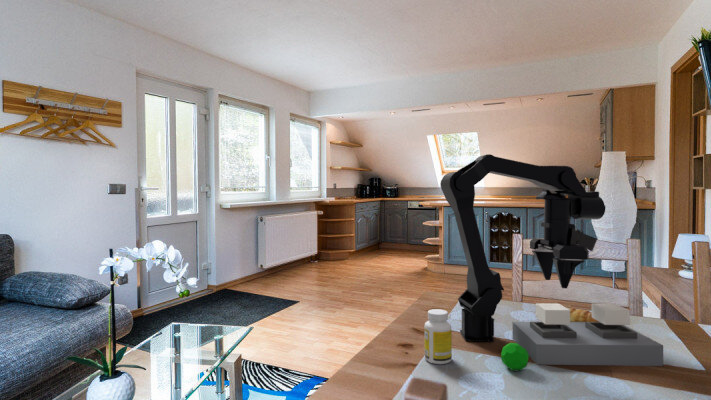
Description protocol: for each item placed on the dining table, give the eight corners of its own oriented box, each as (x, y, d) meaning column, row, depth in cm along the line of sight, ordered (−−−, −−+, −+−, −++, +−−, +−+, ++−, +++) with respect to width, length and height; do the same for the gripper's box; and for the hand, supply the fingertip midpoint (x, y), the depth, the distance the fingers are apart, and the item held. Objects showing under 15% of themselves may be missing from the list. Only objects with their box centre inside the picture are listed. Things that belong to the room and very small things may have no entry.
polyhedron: (502, 373, 75) (502, 348, 75) (499, 362, 80) (499, 338, 80) (531, 375, 74) (531, 350, 74) (526, 364, 79) (526, 340, 79)
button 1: (545, 324, 83) (545, 310, 83) (535, 317, 88) (535, 303, 88) (570, 324, 83) (569, 310, 83) (558, 317, 88) (558, 303, 88)
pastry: (612, 326, 101) (612, 311, 101) (605, 333, 96) (605, 318, 96) (572, 318, 108) (571, 304, 108) (563, 325, 103) (563, 310, 103)
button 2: (604, 324, 82) (604, 310, 82) (591, 317, 87) (591, 303, 87) (629, 324, 82) (629, 310, 82) (615, 317, 87) (615, 303, 87)
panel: (537, 364, 79) (536, 338, 79) (512, 338, 93) (512, 316, 93) (663, 365, 78) (663, 339, 78) (619, 339, 92) (619, 317, 91)
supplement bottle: (456, 359, 82) (456, 311, 82) (442, 367, 78) (441, 317, 78) (434, 352, 85) (433, 306, 85) (419, 359, 82) (419, 311, 81)
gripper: (614, 222, 86) (612, 294, 86) (573, 217, 105) (571, 277, 105) (561, 221, 87) (559, 292, 87) (529, 216, 105) (528, 275, 106)
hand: (555, 283), depth 96 cm, fingers open, 9 cm apart
